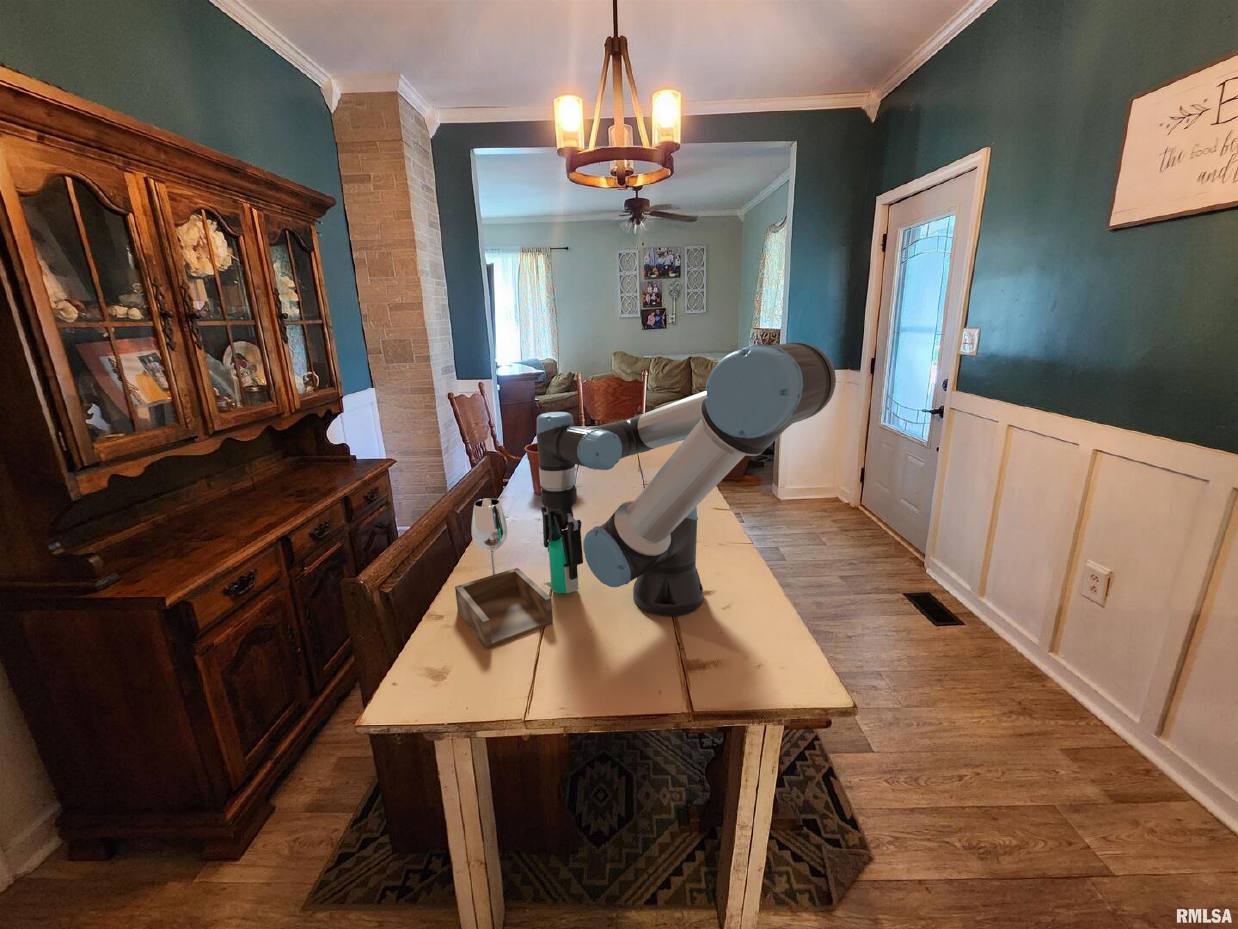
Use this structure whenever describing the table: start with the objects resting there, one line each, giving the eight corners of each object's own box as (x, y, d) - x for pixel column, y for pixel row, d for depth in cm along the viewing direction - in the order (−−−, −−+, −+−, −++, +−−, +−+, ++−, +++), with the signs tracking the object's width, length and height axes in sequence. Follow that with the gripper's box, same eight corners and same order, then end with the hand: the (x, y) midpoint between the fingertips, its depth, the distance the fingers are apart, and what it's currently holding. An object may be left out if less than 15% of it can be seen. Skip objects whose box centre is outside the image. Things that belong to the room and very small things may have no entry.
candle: (578, 579, 118) (576, 530, 115) (577, 592, 112) (574, 541, 109) (552, 580, 118) (549, 531, 114) (550, 593, 112) (546, 542, 109)
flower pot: (524, 485, 189) (521, 443, 185) (568, 481, 194) (566, 439, 189) (531, 500, 174) (527, 454, 169) (578, 494, 179) (576, 449, 174)
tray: (552, 623, 103) (551, 598, 102) (485, 649, 95) (483, 621, 94) (519, 591, 116) (517, 567, 114) (457, 611, 108) (454, 586, 107)
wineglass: (477, 594, 114) (468, 510, 109) (476, 578, 122) (468, 498, 116) (512, 589, 116) (506, 506, 111) (510, 573, 124) (504, 495, 118)
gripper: (597, 493, 103) (602, 596, 109) (553, 473, 118) (559, 565, 124) (564, 501, 99) (571, 608, 105) (523, 479, 114) (530, 574, 120)
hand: (564, 584), depth 115 cm, fingers closed on candle, 6 cm apart
